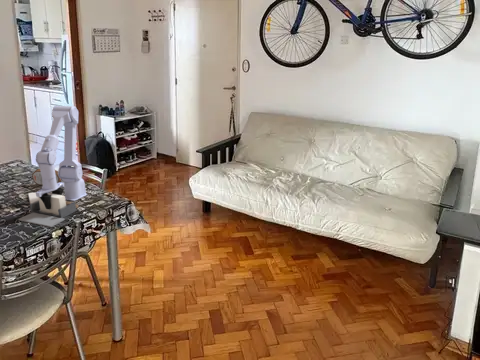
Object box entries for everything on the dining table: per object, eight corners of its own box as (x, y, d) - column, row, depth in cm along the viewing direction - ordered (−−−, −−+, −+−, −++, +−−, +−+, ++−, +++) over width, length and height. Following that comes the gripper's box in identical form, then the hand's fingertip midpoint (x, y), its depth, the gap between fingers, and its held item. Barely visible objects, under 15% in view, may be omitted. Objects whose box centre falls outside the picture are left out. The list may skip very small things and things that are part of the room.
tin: (63, 184, 235) (60, 169, 232) (60, 186, 232) (57, 171, 229) (35, 183, 236) (33, 168, 233) (32, 185, 233) (30, 170, 230)
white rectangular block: (46, 208, 204) (43, 192, 202) (67, 212, 200) (64, 195, 197) (40, 211, 201) (37, 194, 199) (61, 215, 197) (59, 198, 194)
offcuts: (56, 202, 210) (55, 198, 210) (78, 207, 206) (78, 203, 205) (51, 205, 208) (51, 201, 207) (73, 209, 203) (73, 205, 202)
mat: (33, 213, 199) (32, 212, 199) (64, 219, 192) (64, 218, 192) (18, 220, 192) (18, 219, 192) (50, 227, 185) (50, 226, 185)
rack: (46, 205, 208) (45, 197, 207) (76, 210, 202) (75, 202, 200) (30, 212, 200) (29, 204, 198) (61, 218, 194) (60, 210, 192)
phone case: (50, 204, 210) (46, 192, 224) (50, 201, 210) (46, 189, 223) (30, 207, 207) (27, 196, 220) (29, 204, 206) (27, 193, 219)
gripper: (54, 171, 203) (58, 199, 208) (28, 181, 191) (33, 211, 195) (66, 173, 201) (70, 202, 205) (41, 183, 188) (45, 213, 192)
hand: (53, 206), depth 200 cm, fingers open, 5 cm apart
